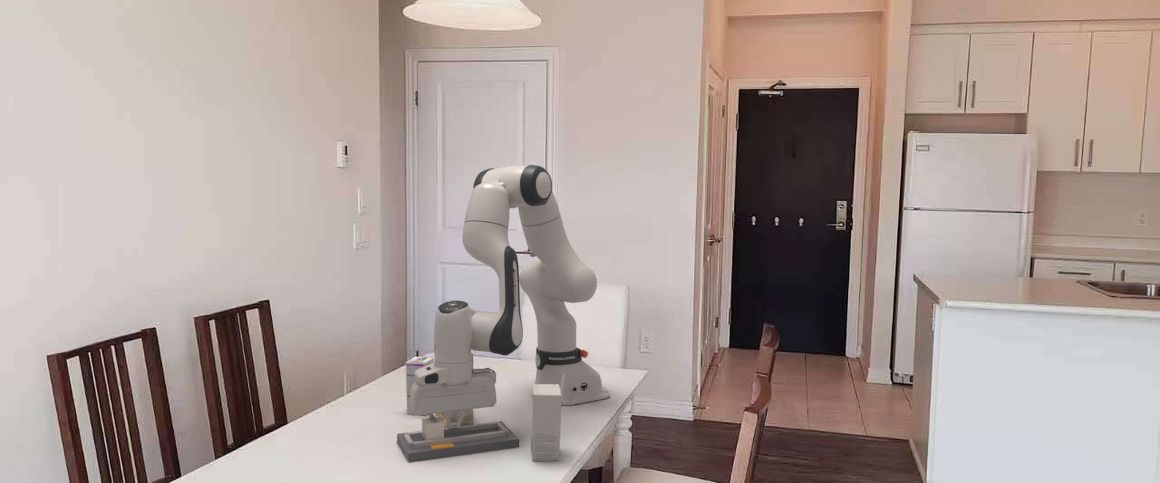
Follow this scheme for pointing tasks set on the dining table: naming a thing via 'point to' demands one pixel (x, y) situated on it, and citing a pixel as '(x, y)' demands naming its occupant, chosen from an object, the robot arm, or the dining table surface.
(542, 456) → the skincare box
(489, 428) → the board
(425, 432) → the fader tab
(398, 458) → the dining table surface
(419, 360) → the syrup box
